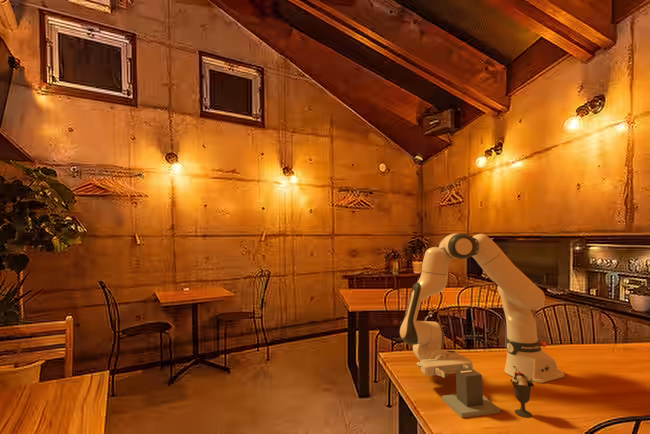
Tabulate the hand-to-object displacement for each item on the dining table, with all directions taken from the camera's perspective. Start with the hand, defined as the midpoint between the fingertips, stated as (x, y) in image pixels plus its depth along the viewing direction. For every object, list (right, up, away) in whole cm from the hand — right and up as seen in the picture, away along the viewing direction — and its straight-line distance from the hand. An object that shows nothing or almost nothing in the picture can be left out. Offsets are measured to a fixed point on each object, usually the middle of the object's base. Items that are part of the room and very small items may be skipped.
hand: (457, 374), depth 122 cm
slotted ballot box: (+1, -6, -7) cm, 9 cm away
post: (+1, -8, -7) cm, 11 cm away
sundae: (+17, -7, -12) cm, 22 cm away
